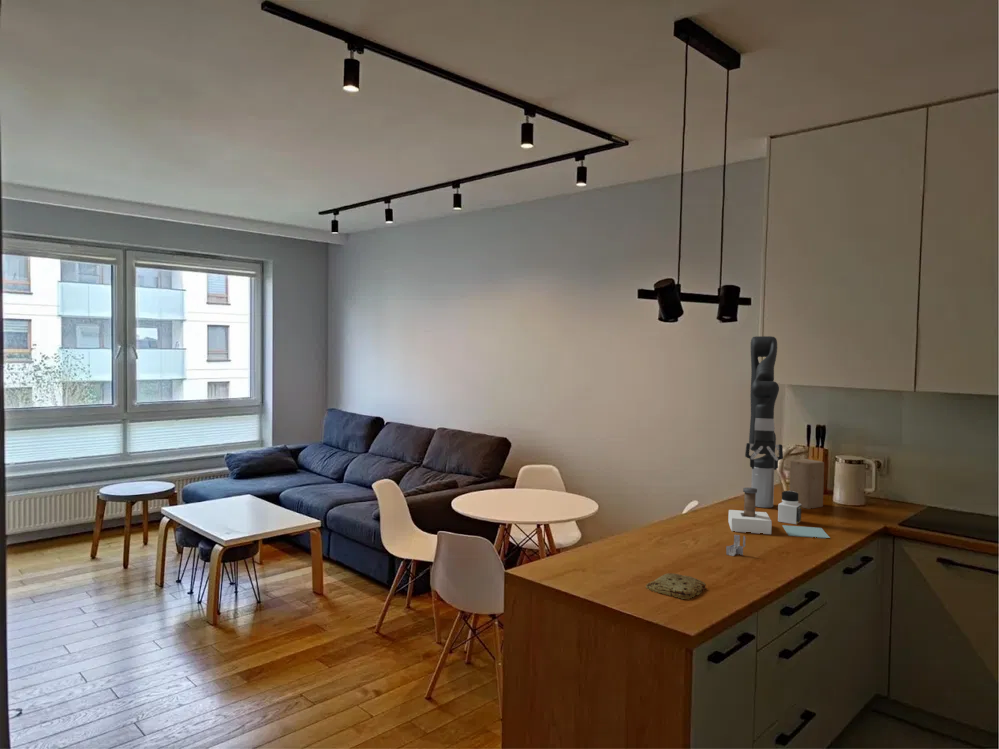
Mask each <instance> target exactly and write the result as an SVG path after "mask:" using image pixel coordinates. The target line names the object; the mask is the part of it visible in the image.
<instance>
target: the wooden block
mask: <svg viewBox="0 0 999 749" xmlns="http://www.w3.org/2000/svg"><path fill="white" fill-rule="evenodd" d="M789 462H790V463H789V464H790V467H789V491H794V492H796V493H798V503H800V504H801V509H807V510H811V508H812V509H815V508H817V509H818V508H823V506H824V485H825V484H824V482H825V481H824V480H825V479H824V477H825V462H824V461H821V460H815V459H809V458H800V459H791V460H790V461H789Z"/></svg>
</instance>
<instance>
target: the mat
mask: <svg viewBox="0 0 999 749" xmlns="http://www.w3.org/2000/svg"><path fill="white" fill-rule="evenodd" d="M781 526H782V528H783V529H784V531H785V532H786V534H787V536H789V537H799V538H800V537H802V538H813V537H815V539H826V538H830V539H831V537H830V536H829V535H828V534H827V532H825V530H824V529H823V528H822V527H813V526H800V525H798V526H797V525H786V524H785V525H784V524H783V525H781ZM816 537H817V538H816Z"/></svg>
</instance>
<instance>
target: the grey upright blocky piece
mask: <svg viewBox="0 0 999 749" xmlns="http://www.w3.org/2000/svg"><path fill="white" fill-rule="evenodd" d="M740 542H741V535H740V534H733V544H732V545H726V549H725V550H726V552H725V553H726V555H727V556H730V557H734V556H736V555H739V554H740V556H744V548H746V536H745V535H743V536H742V545H741V544H740Z"/></svg>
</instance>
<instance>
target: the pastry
mask: <svg viewBox="0 0 999 749" xmlns="http://www.w3.org/2000/svg"><path fill="white" fill-rule="evenodd" d="M645 587H646V588H647V589H649V590H648V591H650V590H651V592H653V591H654V593H656V592H658V593H657V594H659V593H662V594H661V595H663V594H666V595H665V596H668V595H670V596H669V597H672V596H674V597H673V598H675V597H678V598H677V599H679V598H681V599H680V600H683V599H688V600H690V599H689V598H691V599H693V598H695V597H696V596H695V595H697V596H699V595H700V594H702V592H703V591H704V590H706V587H707V584H706V583H705V581H702V580H700V579H698V578H695V577H693V576H690V575H682V574H679V573H673V572H671V573H670V572H669V573H665V574H663V575H661V576H659V577H658V578H656V579H654V580H651V581H650V582H647V583H646V584H645ZM645 587H644V588H645ZM646 588H645V589H646ZM647 589H646V590H647ZM702 590H703V591H702ZM692 597H693V598H692Z"/></svg>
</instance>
